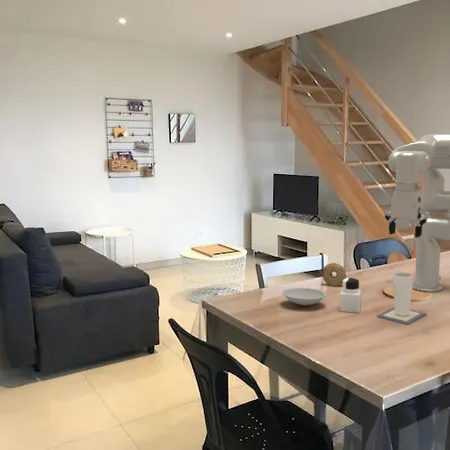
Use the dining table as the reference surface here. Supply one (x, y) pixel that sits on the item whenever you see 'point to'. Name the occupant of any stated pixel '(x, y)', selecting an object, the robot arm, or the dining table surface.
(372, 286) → the dining table surface
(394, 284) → the drinking glass
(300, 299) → the dish
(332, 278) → the brown thick ring
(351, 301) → the medicine bottle
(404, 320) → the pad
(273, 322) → the dining table surface
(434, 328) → the dining table surface
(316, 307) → the dining table surface
